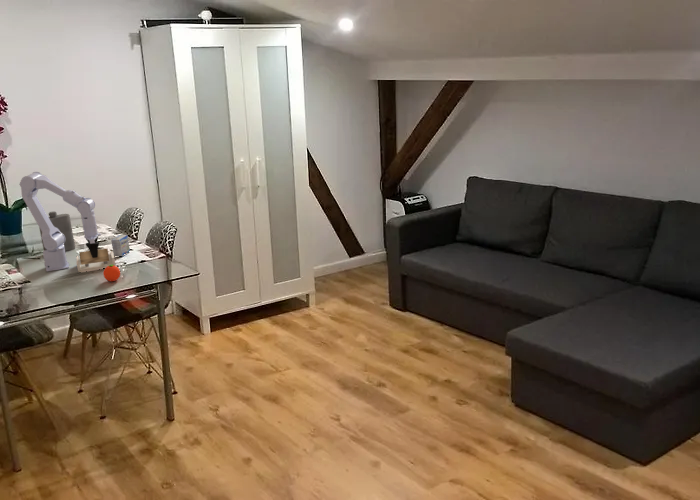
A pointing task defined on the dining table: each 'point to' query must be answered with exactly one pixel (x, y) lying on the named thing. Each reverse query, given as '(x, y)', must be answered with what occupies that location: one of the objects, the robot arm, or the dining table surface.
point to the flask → (62, 229)
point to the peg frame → (95, 264)
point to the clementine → (111, 273)
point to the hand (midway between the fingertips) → (94, 254)
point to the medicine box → (120, 245)
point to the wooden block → (87, 258)
